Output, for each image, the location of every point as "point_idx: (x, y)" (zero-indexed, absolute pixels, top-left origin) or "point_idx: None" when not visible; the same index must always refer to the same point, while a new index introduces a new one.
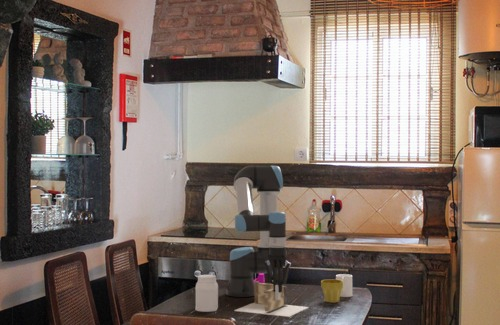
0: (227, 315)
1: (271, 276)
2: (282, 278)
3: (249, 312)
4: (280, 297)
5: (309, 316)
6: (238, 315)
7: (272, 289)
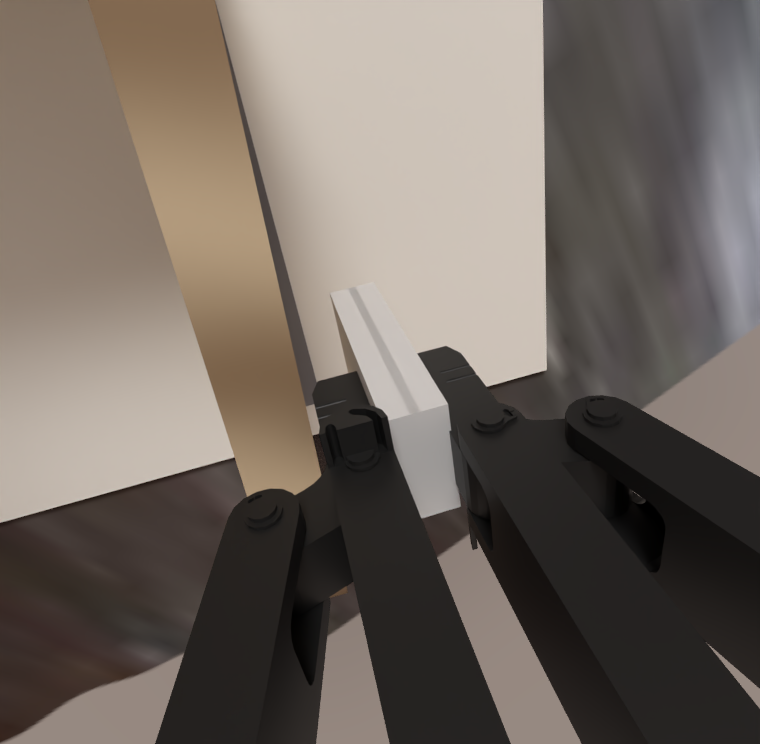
0: (73, 655)
1: (301, 699)
2: (585, 500)
3: (119, 485)
4: (380, 294)
5: (698, 215)
6: (142, 601)
7: (280, 435)
